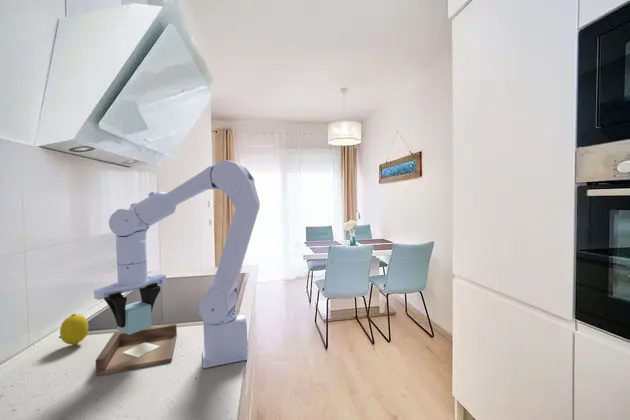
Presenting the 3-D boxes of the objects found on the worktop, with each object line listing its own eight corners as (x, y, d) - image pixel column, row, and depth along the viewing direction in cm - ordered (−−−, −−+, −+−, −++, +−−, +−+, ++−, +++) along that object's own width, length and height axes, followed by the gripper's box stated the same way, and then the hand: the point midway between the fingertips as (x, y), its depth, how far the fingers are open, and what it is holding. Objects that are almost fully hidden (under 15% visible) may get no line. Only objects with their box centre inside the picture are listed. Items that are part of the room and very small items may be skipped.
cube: (140, 321, 71) (139, 301, 71) (151, 326, 69) (150, 304, 68) (117, 329, 67) (116, 307, 67) (128, 334, 64) (127, 311, 64)
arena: (176, 335, 79) (176, 323, 79) (171, 361, 66) (170, 347, 66) (115, 345, 74) (114, 332, 74) (96, 375, 61) (95, 360, 61)
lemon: (59, 345, 75) (57, 314, 74) (86, 338, 79) (85, 308, 78) (62, 353, 71) (61, 320, 71) (91, 344, 75) (89, 313, 75)
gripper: (153, 255, 76) (155, 308, 76) (86, 267, 63) (89, 330, 64) (170, 257, 72) (172, 313, 72) (102, 270, 60) (105, 337, 60)
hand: (134, 321), depth 68 cm, fingers closed on cube, 5 cm apart
